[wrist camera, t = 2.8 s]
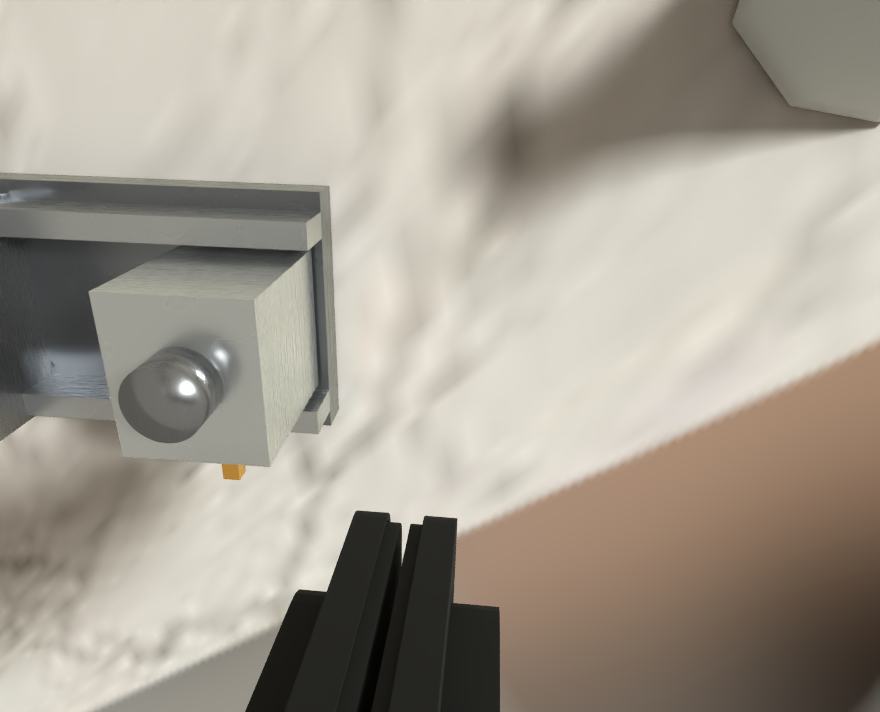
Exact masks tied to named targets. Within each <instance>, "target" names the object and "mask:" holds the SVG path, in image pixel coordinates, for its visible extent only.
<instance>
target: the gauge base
mask: <svg viewBox="0 0 880 712" xmlns="http://www.w3.org/2000/svg"><path fill="white" fill-rule="evenodd" d="M180 245H192V246H213V247H235V248H256V249H278V250H299V251H308V250H309V249H311V257H312V275H313V293H314V311H315V329H316V347H317V365H318V383H319V384H318V386H317V387H316V389H315V391H314V393H313V394H312V396H311V398H310V399H309V401H308V403H307V404H306V406H305V408H304V410H303V411H302V413H301V415H300V416H299V418H298V420H297V422H296V423H295V425H294V427H293V428H292V430H291V432H296V433H311V434H319V432H320V430H321V428H322V426H323V425H331V424H332V422H333V420H334V418H335V416H336V414H337V412H338V410H339V406H338V382H337V359H336V335H335V311H334V287H333V264H332V240H331V216H330V192H329V186H314V185H289V184H264V183H239V182H214V181H190V180H165V179H140V178H115V177H91V176H66V175H41V174H16V173H0V441H1V440H3V439H4V438H5V437H7V436H8V435H9V434H11V433H12V432H14V431H15V430H16V429H18V428H19V427H21V426H22V425H23V424H25V423H26V422H28V421H29V420H30V419H32V418H33V417H35V416H46V417H62V418H77V419H93V420H109V421H115V417H114V412H113V408H112V403H111V398H110V393H109V388H108V383H107V379H106V374H105V369H104V364H103V359H102V354H101V350H100V345H99V340H98V335H97V330H96V325H95V321H94V316H93V311H92V306H91V301H90V296H89V292H88V291H90V290H92V289H94V288H96V287H98V286H100V285H102V284H104V283H106V282H108V281H110V280H112V279H114V278H116V277H118V276H120V275H122V274H124V273H126V272H128V271H130V270H132V269H134V268H136V267H138V266H140V265H142V264H144V263H146V262H148V261H150V260H152V259H154V258H156V257H158V256H160V255H162V254H164V253H166V252H168V251H170V250H172V249H174V248H176V247H178V246H180Z"/></svg>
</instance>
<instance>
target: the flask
mask: <svg viewBox="0 0 880 712" xmlns="http://www.w3.org/2000/svg"><path fill="white" fill-rule="evenodd" d="M732 24H733V26H734V27H735V29H736V30H737V32H738V33H739V34H740V36H741V37H742V39H743V40H744V42H745V43H746V44H747V46H748V47H749V49H750V50H751V52H752V53H753V54H754V56H755V57H756V59H757V60H758V61H759V63H760V64H761V66H762V67H763V69H764V70H765V71H766V73H767V74H768V76H769V77H770V79H771V80H772V81H773V83H774V84H775V86H776V87H777V89H778V90H779V91H780V93H781V94H782V96H783V97H784V98H785V100H786V101H787V103H788V104H789V106H793V107H798V108H804V109H809V110H814V111H820V112H825V113H830V114H836V115H841V116H847V117H852V118H857V119H863V120H868V121H874V122H879V123H880V0H739V3H738V6H737V9H736V12H735V15H734V18H733V21H732Z"/></svg>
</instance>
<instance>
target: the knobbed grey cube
mask: <svg viewBox="0 0 880 712" xmlns="http://www.w3.org/2000/svg"><path fill="white" fill-rule="evenodd" d="M88 292H89V296H90V301H91V306H92V311H93V316H94V321H95V325H96V330H97V335H98V340H99V345H100V350H101V354H102V359H103V364H104V369H105V374H106V379H107V383H108V388H109V393H110V398H111V403H112V408H113V412H114V417H115V422H116V427H117V432H118V437H119V441H120V446H121V451H122V456H123V457H130V458H145V459H160V460H175V461H190V462H204V463H219V464H222V470H223V477H224V479H232V480H240V479H241V477H242V476H243V474H244V473H245V471H246V469H245V465H249V466H264V467H270V466H271V464H272V463H273V461H274V459H275V457H276V456H277V454H278V452H279V451H280V449H281V447H282V445H283V444H284V442H285V440H286V439H287V437H288V435H289V434H290V432H291V430H292V428H293V427H294V425H295V423H296V422H297V420H298V418H299V416H300V415H301V413H302V411H303V410H304V408H305V406H306V404H307V403H308V401H309V399H310V398H311V396H312V394H313V393H314V391H315V389H316V387H317V386H318V384H319V383H318V365H317V347H316V329H315V311H314V293H313V275H312V257H311V249H309V250H308V251H299V250H278V249H256V248H235V247H213V246H192V245H180V246H178V247H176V248H174V249H172V250H170V251H168V252H166V253H164V254H162V255H160V256H158V257H156V258H154V259H152V260H150V261H148V262H146V263H144V264H142V265H140V266H138V267H136V268H134V269H132V270H130V271H128V272H126V273H124V274H122V275H120V276H118V277H116V278H114V279H112V280H110V281H108V282H106V283H104V284H102V285H100V286H98V287H96V288H94V289H92V290H90V291H88Z"/></svg>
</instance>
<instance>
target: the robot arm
mask: <svg viewBox="0 0 880 712" xmlns="http://www.w3.org/2000/svg"><path fill="white" fill-rule="evenodd" d="M456 536H457V518H445V517H432V516H425V517H424V520H423V525H419V524H411V525H410V529H409V534H408V539H407V544H406V548H405V553H404V558H403V563H402V567H401V561H402V525H401V523H394V522H390V514H389V513H382V512H369V511H356V512H355V514H354V516H353V519H352V522H351V525H350V528H349V530H348V533H347V536H346V539H345V542H344V545H343V547H342V550H341V553H340V556H339V559H338V562H337V564H336V567H335V570H334V573H333V576H332V579H331V581H330V584H329V587H328V590H327V592H321V591H310V590H298V591H297V592H296V593H295V595H294V597H293V599H292V601H291V604H290V606H289V608H288V611H287V613H286V615H285V618H284V620H283V623H282V625H281V627H280V630H279V632H278V635H277V637H276V639H275V642H274V644H273V647H272V649H271V651H270V654H269V656H268V659H267V661H266V663H265V666H264V668H263V671H262V673H261V676H260V678H259V680H258V682H257V685H256V687H255V690H254V692H253V694H252V697H251V699H250V702H249V704H248V706H247V709H246V711H245V712H500V632H499V631H500V621H499V619H500V618H499V607H491V606H479V605H469V604H457V603H453V596H454V595H453V594H454V577H455V555H456Z"/></svg>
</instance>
